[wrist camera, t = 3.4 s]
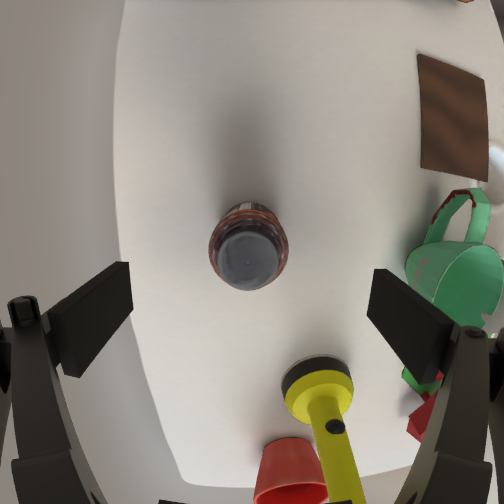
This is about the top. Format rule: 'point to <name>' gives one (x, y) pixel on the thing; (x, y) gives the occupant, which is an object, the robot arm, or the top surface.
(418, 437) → the red green faceted piece
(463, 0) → the tin
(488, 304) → the mug
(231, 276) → the supplement bottle
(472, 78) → the placemat
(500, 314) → the cup
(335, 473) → the flashlight
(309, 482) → the flower pot
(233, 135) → the top surface
